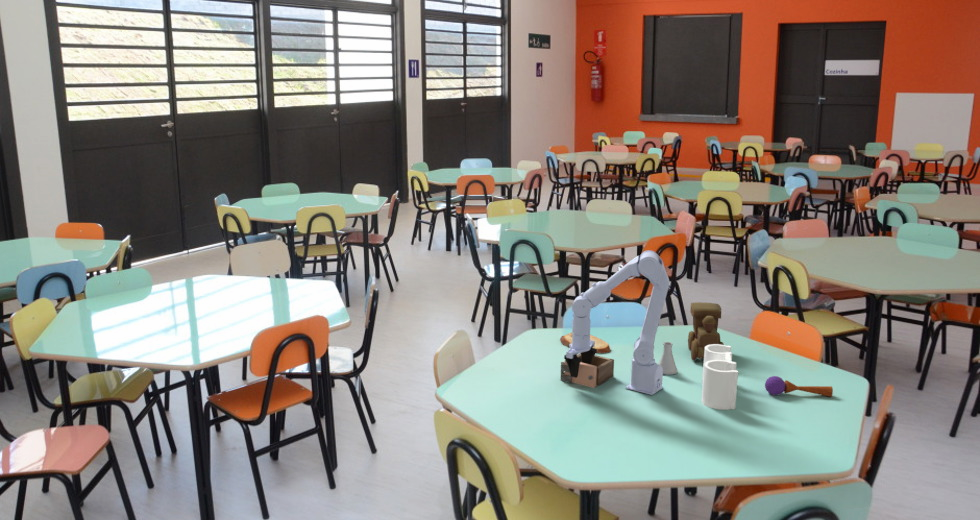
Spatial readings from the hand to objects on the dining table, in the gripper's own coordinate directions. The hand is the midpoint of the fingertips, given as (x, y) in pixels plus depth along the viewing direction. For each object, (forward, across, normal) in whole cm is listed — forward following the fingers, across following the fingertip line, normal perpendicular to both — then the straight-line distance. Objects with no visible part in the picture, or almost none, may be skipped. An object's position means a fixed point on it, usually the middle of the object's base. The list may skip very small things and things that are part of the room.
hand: (580, 373), depth 265 cm
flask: (+4, -26, +18) cm, 32 cm away
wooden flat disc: (+4, -33, -18) cm, 38 cm away
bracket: (+4, -19, +39) cm, 43 cm away
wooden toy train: (+4, -50, +22) cm, 54 cm away
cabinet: (+3, -5, -1) cm, 6 cm away
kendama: (+4, -33, +60) cm, 68 cm away
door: (+3, 0, 0) cm, 4 cm away
